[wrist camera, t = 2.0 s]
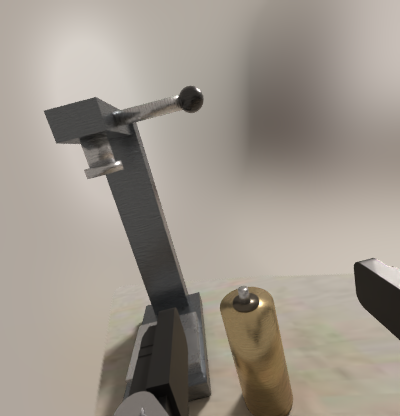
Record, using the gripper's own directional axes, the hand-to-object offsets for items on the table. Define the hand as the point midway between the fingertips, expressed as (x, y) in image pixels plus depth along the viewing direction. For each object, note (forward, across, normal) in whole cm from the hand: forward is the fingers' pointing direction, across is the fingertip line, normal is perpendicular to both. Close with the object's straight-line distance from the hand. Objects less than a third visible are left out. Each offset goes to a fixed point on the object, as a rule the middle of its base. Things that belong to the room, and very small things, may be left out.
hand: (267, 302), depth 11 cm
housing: (+11, 0, +20) cm, 23 cm away
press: (+22, +7, +20) cm, 31 cm away
